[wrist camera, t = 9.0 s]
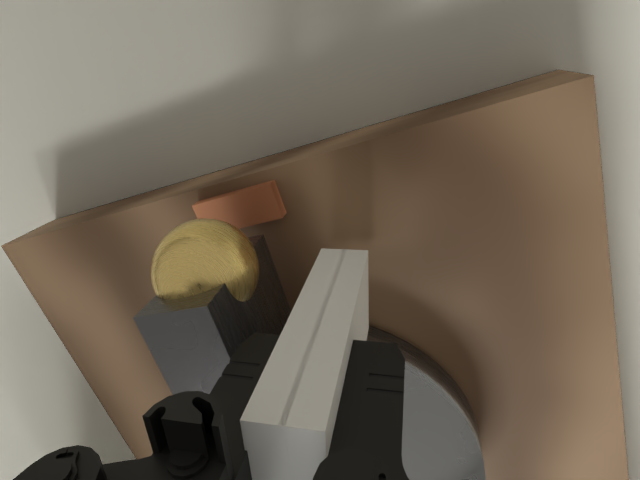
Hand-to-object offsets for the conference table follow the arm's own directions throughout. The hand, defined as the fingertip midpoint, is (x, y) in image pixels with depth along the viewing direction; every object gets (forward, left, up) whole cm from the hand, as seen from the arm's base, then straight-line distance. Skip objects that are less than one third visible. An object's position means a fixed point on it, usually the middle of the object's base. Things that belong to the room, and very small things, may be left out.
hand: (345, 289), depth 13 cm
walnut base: (-3, -8, -5) cm, 10 cm away
